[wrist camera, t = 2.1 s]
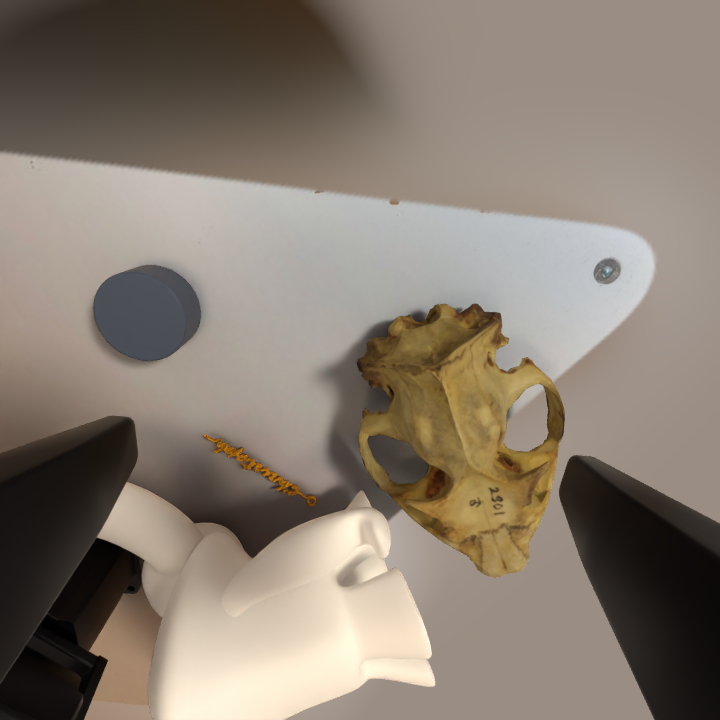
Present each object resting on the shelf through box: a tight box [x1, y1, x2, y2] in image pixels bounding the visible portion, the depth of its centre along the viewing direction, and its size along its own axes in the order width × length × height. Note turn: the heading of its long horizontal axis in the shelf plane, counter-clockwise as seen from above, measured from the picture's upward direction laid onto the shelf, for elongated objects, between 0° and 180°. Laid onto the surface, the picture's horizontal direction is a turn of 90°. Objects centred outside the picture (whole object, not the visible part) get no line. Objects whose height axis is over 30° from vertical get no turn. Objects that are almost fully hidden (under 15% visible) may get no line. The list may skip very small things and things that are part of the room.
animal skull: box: [357, 304, 565, 577], centre depth 22 cm, size 10×16×7 cm
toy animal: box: [97, 482, 435, 720], centre depth 23 cm, size 20×12×17 cm
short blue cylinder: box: [93, 265, 201, 361], centre depth 21 cm, size 4×4×2 cm
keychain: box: [204, 435, 316, 507], centre depth 25 cm, size 8×1×1 cm, turn 52°
